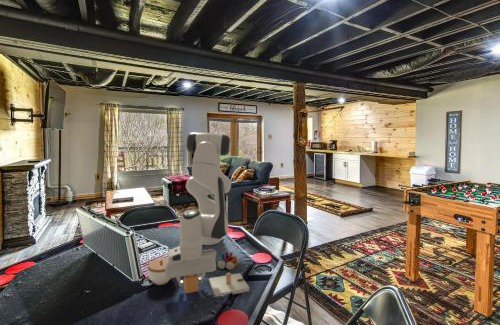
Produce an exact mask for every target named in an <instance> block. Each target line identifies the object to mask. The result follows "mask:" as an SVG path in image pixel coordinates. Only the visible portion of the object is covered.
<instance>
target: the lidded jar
mask: <svg viewBox="0 0 500 325" xmlns="http://www.w3.org/2000/svg"><path fill="white" fill-rule="evenodd" d="M167 258H168V257H160V258H155V259H153V260H151V261H150V262H148V264H147V269H148V271H147V274H148V277H149V279H150V280H151V281H152V282H153V283H154V284H155V285H156V286H157V285H158V286H161V285H165V284H167V283H168V282H169V281H170V280H171V279H172V278H169V279H167V278H166V277H165V264H166V260H167Z"/></svg>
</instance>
